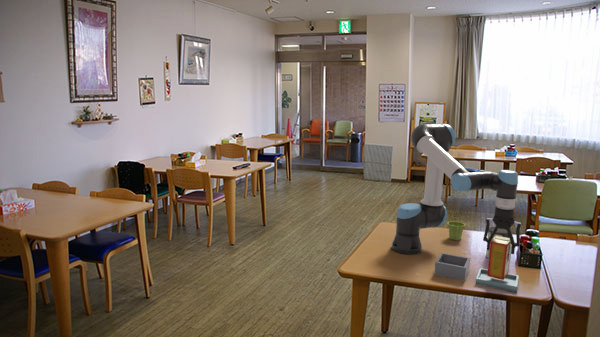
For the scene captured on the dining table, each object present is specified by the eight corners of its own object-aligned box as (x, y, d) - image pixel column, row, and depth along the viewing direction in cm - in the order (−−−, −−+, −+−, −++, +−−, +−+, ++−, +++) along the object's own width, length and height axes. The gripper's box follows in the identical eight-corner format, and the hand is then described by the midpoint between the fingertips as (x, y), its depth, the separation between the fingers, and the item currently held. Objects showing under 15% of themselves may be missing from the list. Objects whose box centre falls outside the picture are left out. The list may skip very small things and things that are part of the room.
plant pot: (443, 236, 258) (444, 221, 257) (459, 235, 259) (460, 221, 258) (450, 241, 249) (451, 226, 247) (467, 241, 250) (468, 226, 248)
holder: (434, 274, 204) (435, 262, 203) (440, 264, 216) (441, 252, 215) (464, 281, 198) (465, 268, 197) (469, 270, 210) (470, 258, 209)
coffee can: (505, 254, 232) (508, 227, 229) (510, 261, 222) (513, 233, 219) (483, 252, 234) (486, 225, 231) (487, 259, 224) (490, 232, 221)
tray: (475, 283, 196) (476, 278, 195) (479, 273, 207) (479, 268, 207) (516, 292, 188) (517, 286, 188) (518, 280, 200) (518, 275, 199)
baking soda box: (503, 280, 191) (507, 243, 188) (487, 276, 195) (490, 240, 192) (508, 272, 199) (512, 237, 196) (492, 269, 203) (496, 234, 200)
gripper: (478, 205, 193) (473, 257, 197) (531, 212, 184) (524, 266, 188) (480, 202, 199) (476, 252, 204) (531, 208, 190) (525, 260, 195)
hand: (499, 258), depth 196 cm, fingers closed on baking soda box, 7 cm apart
